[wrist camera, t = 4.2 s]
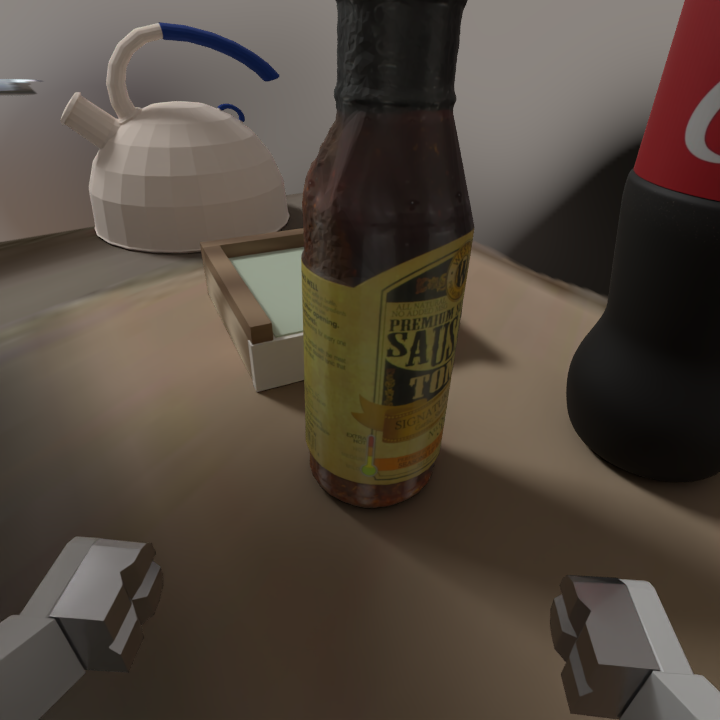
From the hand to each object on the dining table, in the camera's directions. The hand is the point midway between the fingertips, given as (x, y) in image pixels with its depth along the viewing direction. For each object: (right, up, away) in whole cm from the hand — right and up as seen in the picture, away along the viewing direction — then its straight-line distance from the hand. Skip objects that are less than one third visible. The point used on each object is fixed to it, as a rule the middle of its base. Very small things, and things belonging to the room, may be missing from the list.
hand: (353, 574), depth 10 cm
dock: (-3, +8, +27) cm, 28 cm away
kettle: (-18, +19, +45) cm, 52 cm away
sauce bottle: (+1, -1, +14) cm, 15 cm away
